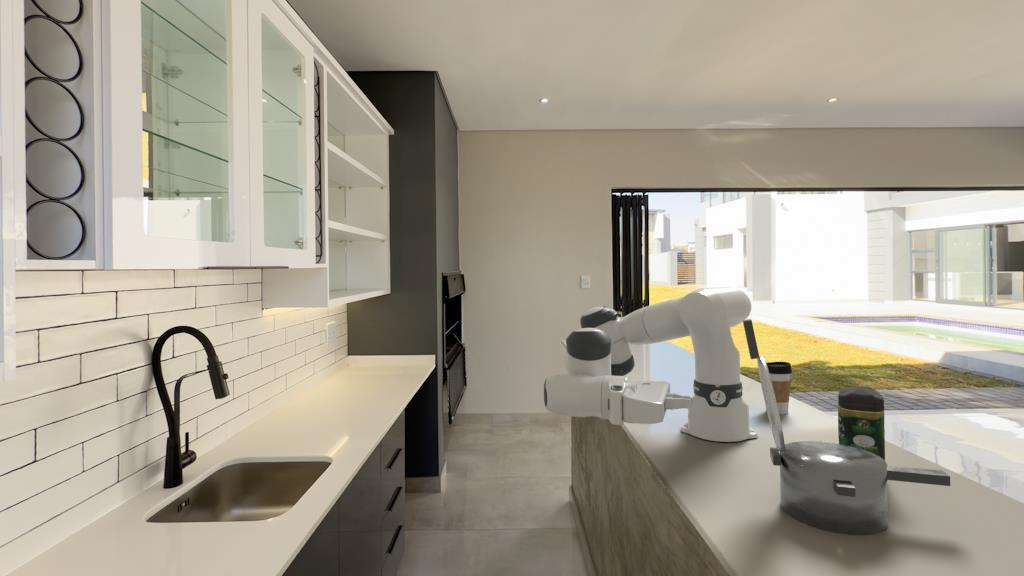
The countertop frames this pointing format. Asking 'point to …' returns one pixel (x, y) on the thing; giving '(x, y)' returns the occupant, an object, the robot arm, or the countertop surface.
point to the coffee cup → (781, 383)
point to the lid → (765, 386)
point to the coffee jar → (861, 419)
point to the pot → (841, 485)
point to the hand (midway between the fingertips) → (692, 402)
